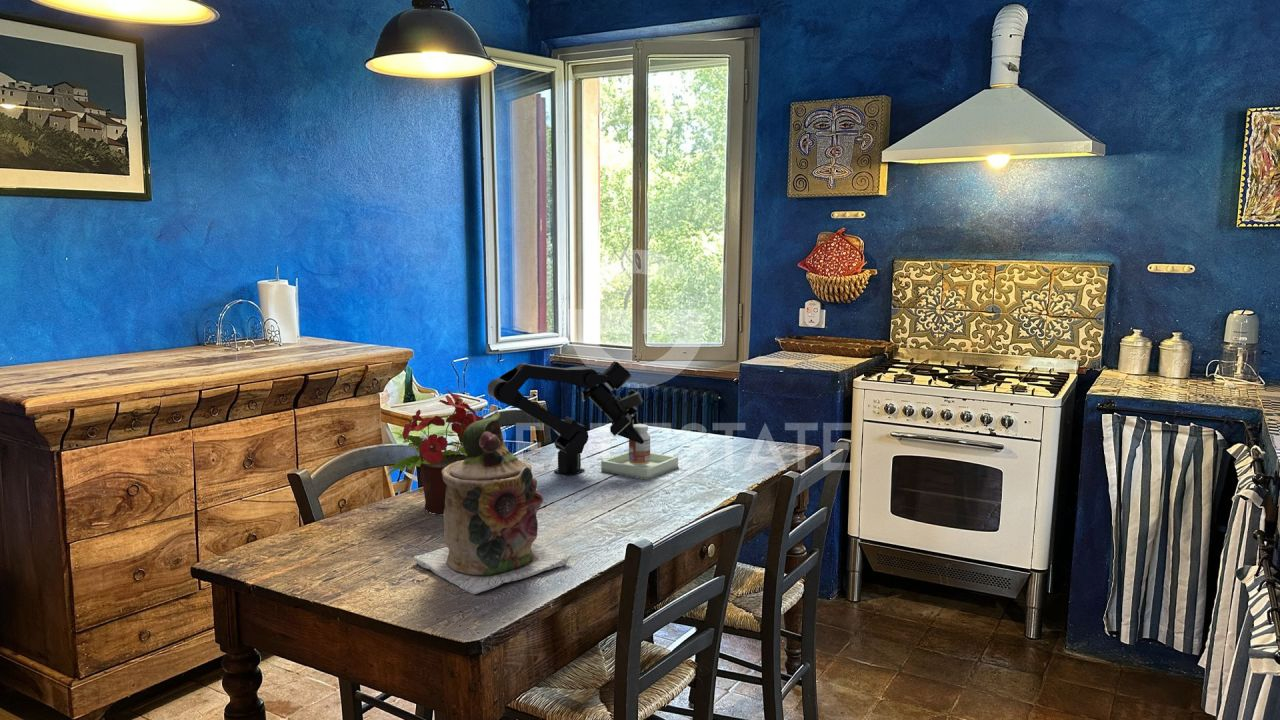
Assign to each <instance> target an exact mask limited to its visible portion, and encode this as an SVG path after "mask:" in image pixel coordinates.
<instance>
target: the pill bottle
mask: <svg viewBox="0 0 1280 720" xmlns="http://www.w3.org/2000/svg"><path fill="white" fill-rule="evenodd" d="M634 427H635V429H636V430H637V432H638V433H639V434H640V436H641V437H642V439H643V440H644V443H643V444H640V443H637V442H635V441H633V440H630V439H628V451H629V463H630V464H633V465H647V464H649V463H650V453H651V434H650V433H648V431H649V426H648V424H644V423H639V424H634Z"/></svg>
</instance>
